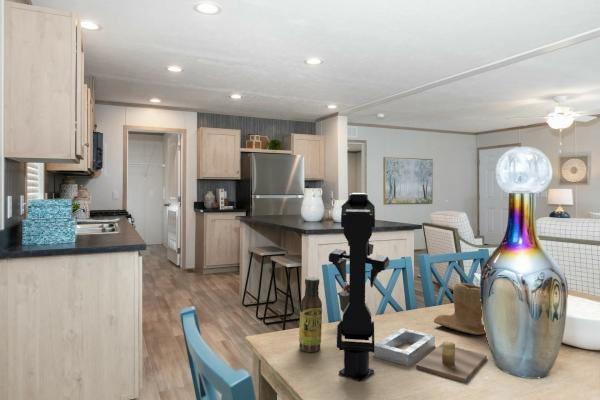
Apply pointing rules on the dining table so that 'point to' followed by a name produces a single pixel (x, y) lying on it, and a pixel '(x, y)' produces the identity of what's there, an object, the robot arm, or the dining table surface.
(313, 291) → the sauce bottle
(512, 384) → the dining table surface
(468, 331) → the tan boot
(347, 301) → the sundae
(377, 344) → the steel link
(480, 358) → the plate
